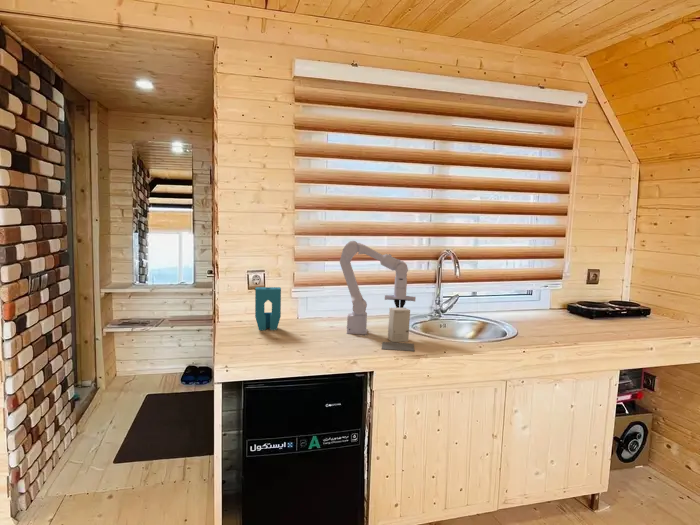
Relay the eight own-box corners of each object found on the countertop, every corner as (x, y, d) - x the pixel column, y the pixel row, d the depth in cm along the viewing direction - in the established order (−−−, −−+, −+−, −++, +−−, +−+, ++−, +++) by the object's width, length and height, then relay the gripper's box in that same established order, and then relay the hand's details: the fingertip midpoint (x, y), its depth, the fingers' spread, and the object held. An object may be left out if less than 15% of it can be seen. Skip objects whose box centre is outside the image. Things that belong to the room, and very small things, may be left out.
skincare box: (392, 342, 207) (393, 310, 205) (387, 338, 213) (388, 307, 211) (409, 341, 210) (410, 309, 208) (403, 337, 215) (405, 306, 213)
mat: (381, 349, 197) (381, 348, 197) (382, 342, 207) (382, 341, 207) (414, 351, 196) (414, 350, 196) (413, 344, 205) (413, 343, 205)
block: (280, 327, 226) (280, 287, 224) (280, 330, 221) (280, 289, 219) (255, 327, 224) (255, 287, 222) (255, 330, 219) (255, 289, 217)
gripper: (415, 286, 221) (414, 314, 222) (385, 284, 222) (384, 312, 224) (416, 289, 214) (414, 317, 215) (384, 287, 215) (383, 315, 217)
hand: (399, 315), depth 219 cm, fingers closed
